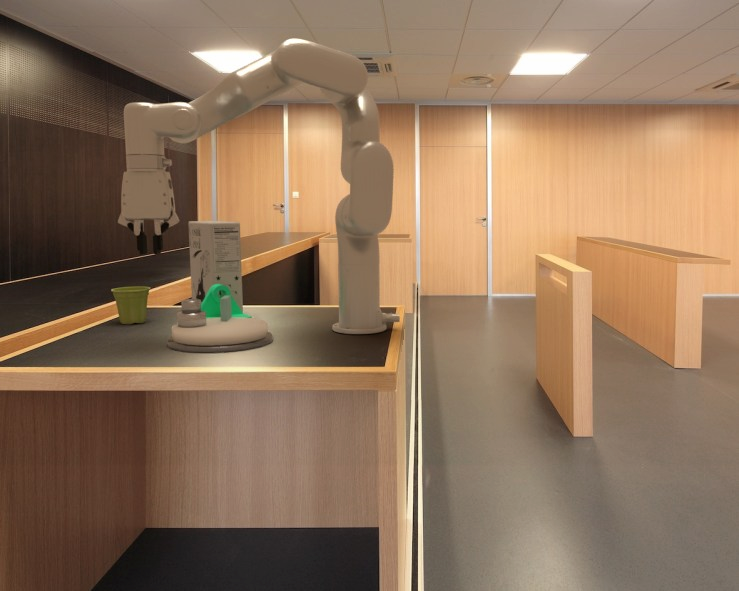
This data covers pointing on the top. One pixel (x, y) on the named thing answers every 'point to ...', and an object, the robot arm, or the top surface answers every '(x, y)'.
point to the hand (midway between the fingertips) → (150, 253)
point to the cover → (191, 314)
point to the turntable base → (220, 346)
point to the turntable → (222, 329)
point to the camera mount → (213, 303)
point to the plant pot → (131, 304)
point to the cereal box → (215, 258)
